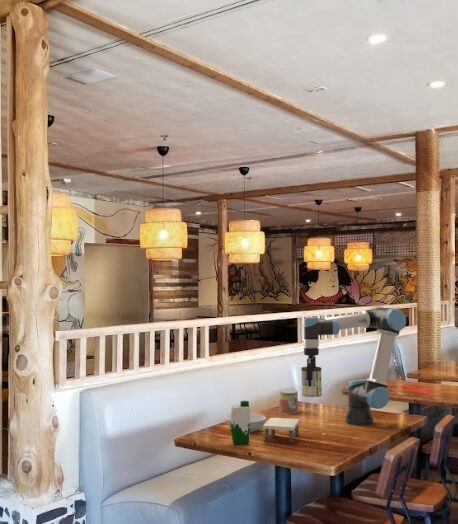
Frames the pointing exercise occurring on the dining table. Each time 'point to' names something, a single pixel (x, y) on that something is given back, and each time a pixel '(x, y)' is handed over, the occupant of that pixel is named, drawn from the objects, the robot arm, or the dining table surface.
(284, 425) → the peg stand
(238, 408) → the milk carton
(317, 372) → the coffee can
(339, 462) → the dining table surface
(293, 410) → the canned food
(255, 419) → the serving bowl
